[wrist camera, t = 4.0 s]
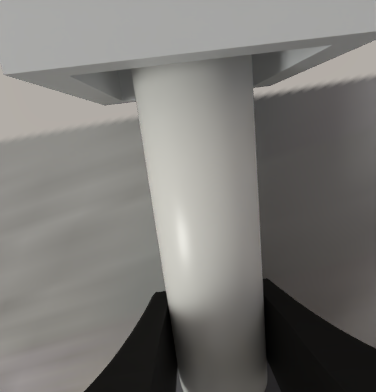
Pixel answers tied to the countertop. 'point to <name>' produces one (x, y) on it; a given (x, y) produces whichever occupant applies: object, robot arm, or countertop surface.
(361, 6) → the light grey block
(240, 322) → the tube
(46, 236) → the countertop surface
